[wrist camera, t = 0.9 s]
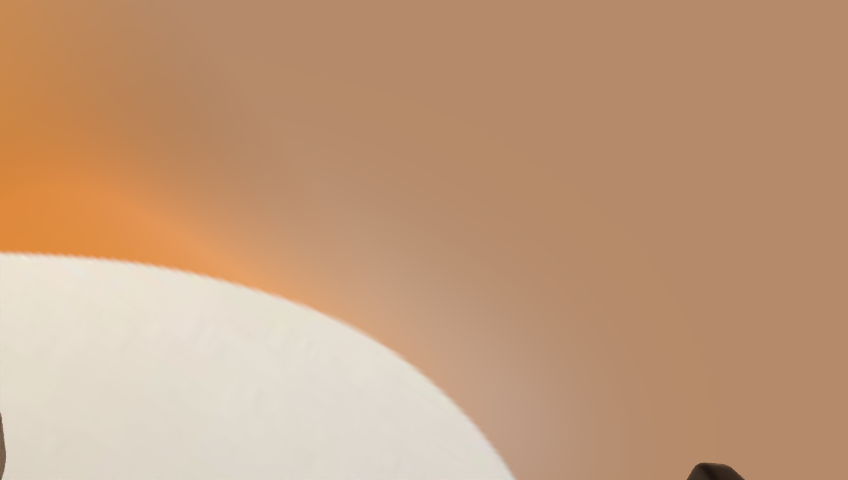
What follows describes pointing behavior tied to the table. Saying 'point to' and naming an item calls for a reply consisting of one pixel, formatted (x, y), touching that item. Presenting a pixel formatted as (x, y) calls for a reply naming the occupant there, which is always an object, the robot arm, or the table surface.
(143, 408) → the table surface
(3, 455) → the robot arm
